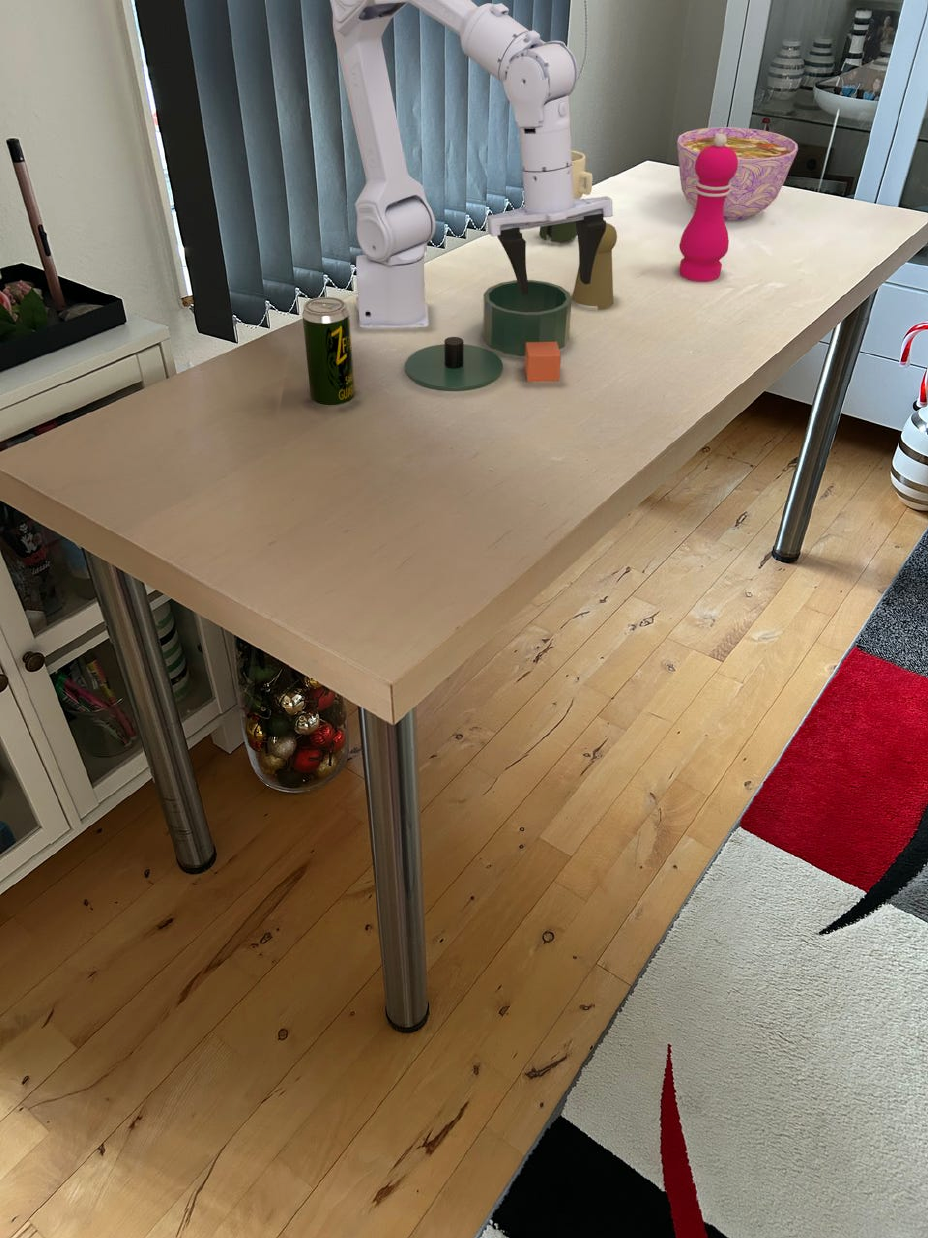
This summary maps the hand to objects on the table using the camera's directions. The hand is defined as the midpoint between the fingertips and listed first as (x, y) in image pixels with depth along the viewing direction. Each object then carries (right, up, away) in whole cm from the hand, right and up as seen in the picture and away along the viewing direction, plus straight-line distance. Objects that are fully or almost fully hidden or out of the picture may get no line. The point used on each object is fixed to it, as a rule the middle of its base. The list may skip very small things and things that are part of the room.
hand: (554, 287), depth 122 cm
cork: (+8, +6, +25) cm, 27 cm away
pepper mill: (+25, +13, +33) cm, 43 cm away
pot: (-3, -3, +14) cm, 15 cm away
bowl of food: (+35, +31, +55) cm, 72 cm away
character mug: (+5, +23, +45) cm, 50 cm away
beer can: (-27, -14, +1) cm, 30 cm away
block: (-1, -10, +6) cm, 11 cm away
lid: (-12, -8, +7) cm, 16 cm away
